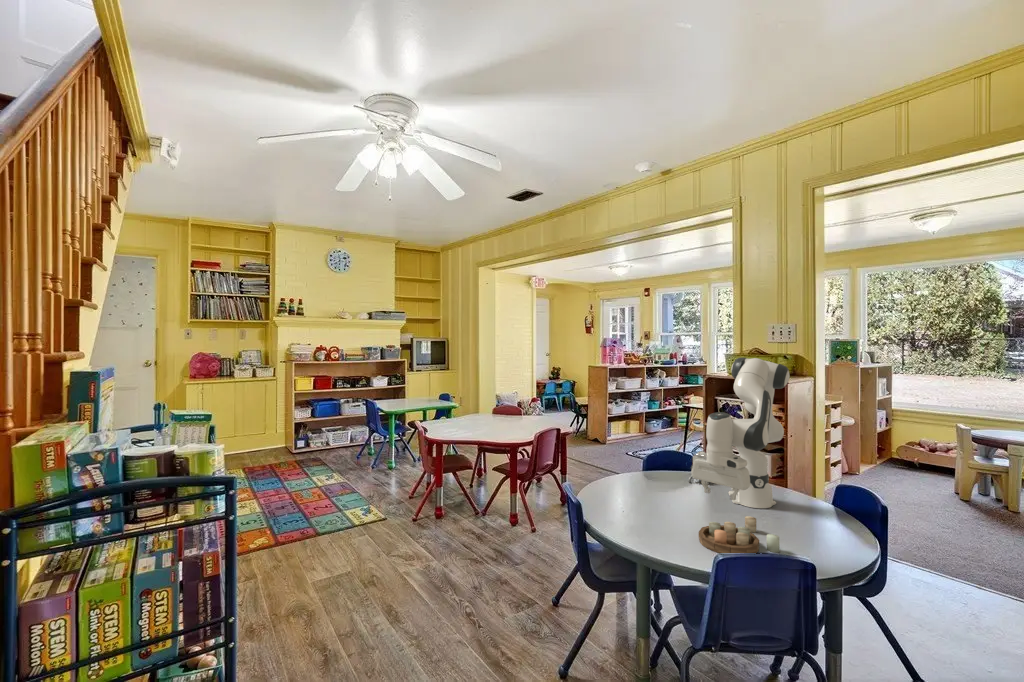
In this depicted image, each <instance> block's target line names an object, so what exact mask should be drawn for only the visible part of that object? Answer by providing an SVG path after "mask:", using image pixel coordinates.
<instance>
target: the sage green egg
mask: <svg viewBox="0 0 1024 682" xmlns="http://www.w3.org/2000/svg"><path fill="white" fill-rule="evenodd" d="M780 550H781V549H780V536H779V535H777V534H774V533H773V534H772V533H769V534H768V533H767V534H766V551H768V552H770V553H774V554H779V553H780V552H781V551H780Z"/></svg>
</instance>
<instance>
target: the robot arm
mask: <svg viewBox="0 0 1024 682" xmlns="http://www.w3.org/2000/svg"><path fill="white" fill-rule="evenodd" d="M730 372H731V376H732V378H733V379H734V383H733V391H734V393H735V396H737V398H739V399H740V400H741V401H743V404H744V408H745V410H746V411H748V412H749V413H750V414H753V416H754V417H753V418H734V419H732V417H731V414H729V413H727V412H723V411H722V412H721V411H718V412H713V413H710V414H709V415H708V417H707V420H706V430H705V432H706V434H705V435H706V437H705V438H706V442H707V444H706V450H705V451H706V452H705V453H706V454H707V455H700V454H697V453H695V454H693V455H692V466H693V467H692V470H691V471H692V476H693V478H695V479H694V480H696V479H699V481H700V482H701V485H702V487H703V489H704V493H706V494H711V487H709V484H707V482H708V483H713V484H714V485H720V486H723V487H729V488H730V489H731V490H729V491H728V493H727V494H728V495H729V500H731V502H732V504H737V505H742V506H745V507H747V508H752V509H753V508H754V509H770V508H771V507H772V506H775V505H776V504H777V502H776V501H775V500H774V499H773V498H774V497H773V487H772V485H771V484H770V483H769V482H770V481H769V480H770V476H769V474H768V457H767V456H766V454H765V453H763V452H762V450H763V449H765V448H767V446H768V445H769V443H775V442H776V443H777V442H780V441H781V440H782V439H783V437H784V434H785V429H784V426H783V425H782V423H781V422H780V421H779V420H777V418H776V417H775V416H774V413H773V405H774V397H775V390H776V389H777V390H780V389H781V390H782V389H783V388H785V387H786V385H787V384H788V383H789V381H790V377H791V376H790V370H789V367H787V366H786V365H784V364H781V363H775V362H772V361H768V360H763V359H762V358H757V357H754V358H747V357H738V358H736V359H735V360H734V361H733V363H732V366H731V369H730ZM733 447H735V448H736V449H737V452H738V454H739V455H738V454H735V453H734V449H733Z"/></svg>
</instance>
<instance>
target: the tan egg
mask: <svg viewBox="0 0 1024 682" xmlns="http://www.w3.org/2000/svg"><path fill="white" fill-rule="evenodd" d="M744 527H746V528H748V529H750V533H753V534H756V533H757V518H756V517H754V516H749V515H747V516H744Z"/></svg>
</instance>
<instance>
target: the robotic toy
mask: <svg viewBox="0 0 1024 682" xmlns="http://www.w3.org/2000/svg"><path fill="white" fill-rule="evenodd" d="M695 454H700V455H707V454H706V452H705V451H704V450H699V451H696V452H695ZM689 462H691V460H689ZM689 462H686V463H685V464H686V465H687V463H689ZM692 467H693V465H691V466H690V469H691V471H690V477H688V483H691V482H692V480H696V481H698V480H699V479H695V478H693V476H692ZM699 481H700V480H699ZM707 485H710V482H707Z"/></svg>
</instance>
